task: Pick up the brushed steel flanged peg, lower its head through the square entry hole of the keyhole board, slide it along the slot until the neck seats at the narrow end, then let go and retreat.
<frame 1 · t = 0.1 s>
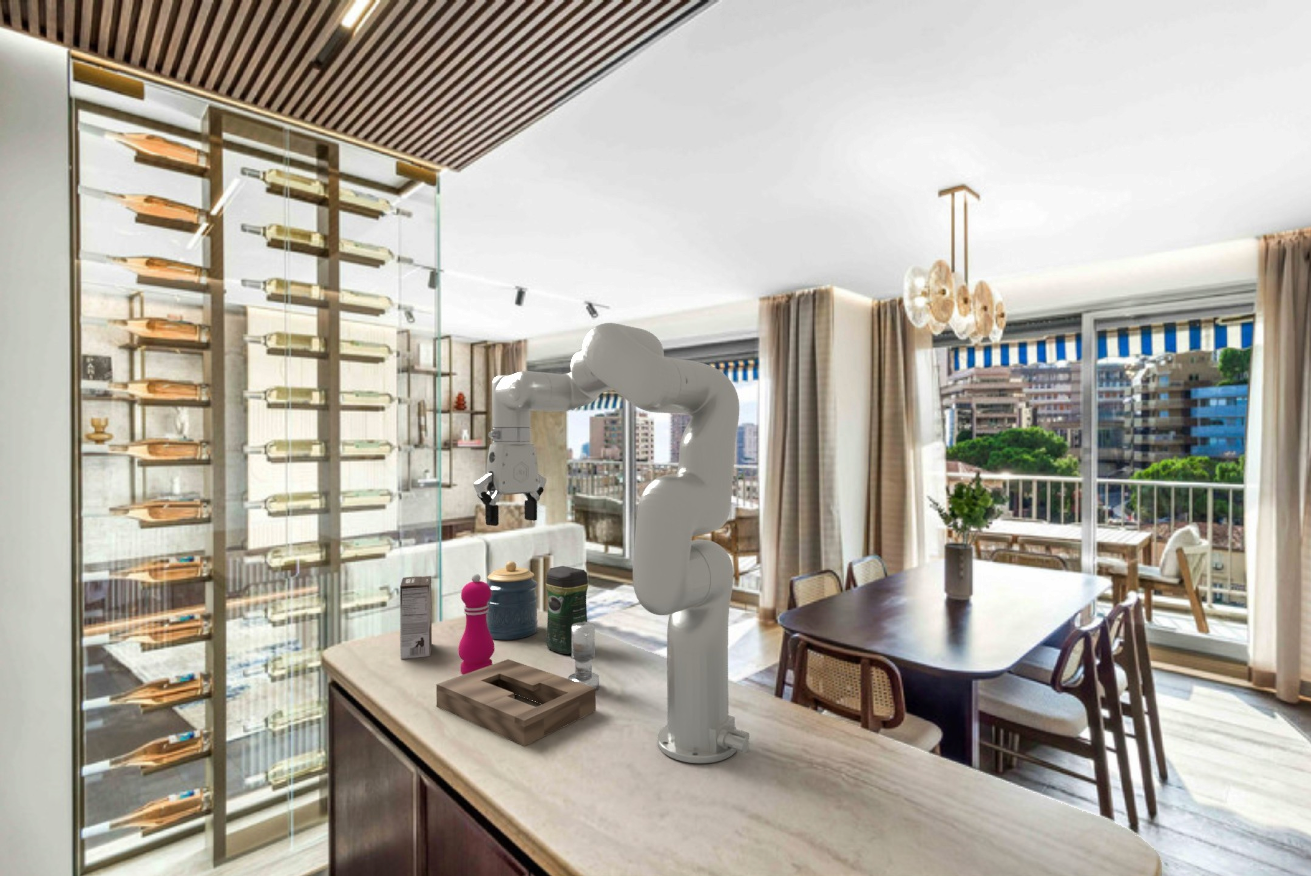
hand: (512, 522, 126), 31 cm above the kitchen island, tool pointing down, fingers open, 9 cm apart
keyhole board: (515, 708, 111), on the kitchen island
canister: (511, 633, 155), on the kitchen island
pepper mill: (476, 671, 129), on the kitchen island
coffee box: (416, 652, 142), on the kitchen island
coffee jar: (567, 649, 143), on the kitchen island
steel peg: (583, 687, 120), on the kitchen island
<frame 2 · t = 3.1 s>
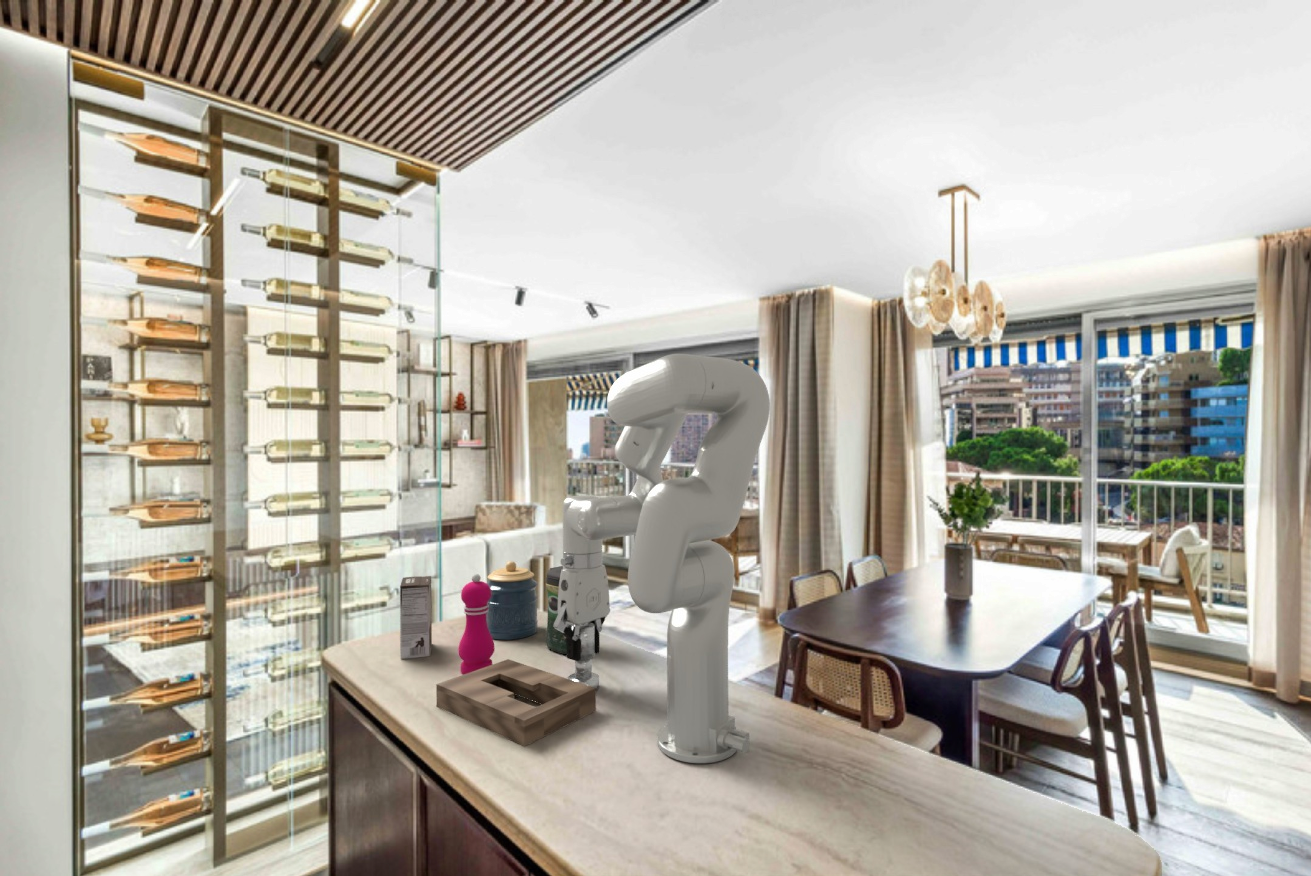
hand: (583, 654, 120), 6 cm above the kitchen island, tool pointing down, fingers closed on steel peg, 4 cm apart
steel peg: (583, 687, 120), on the kitchen island, touching gripper
everything else where it was.
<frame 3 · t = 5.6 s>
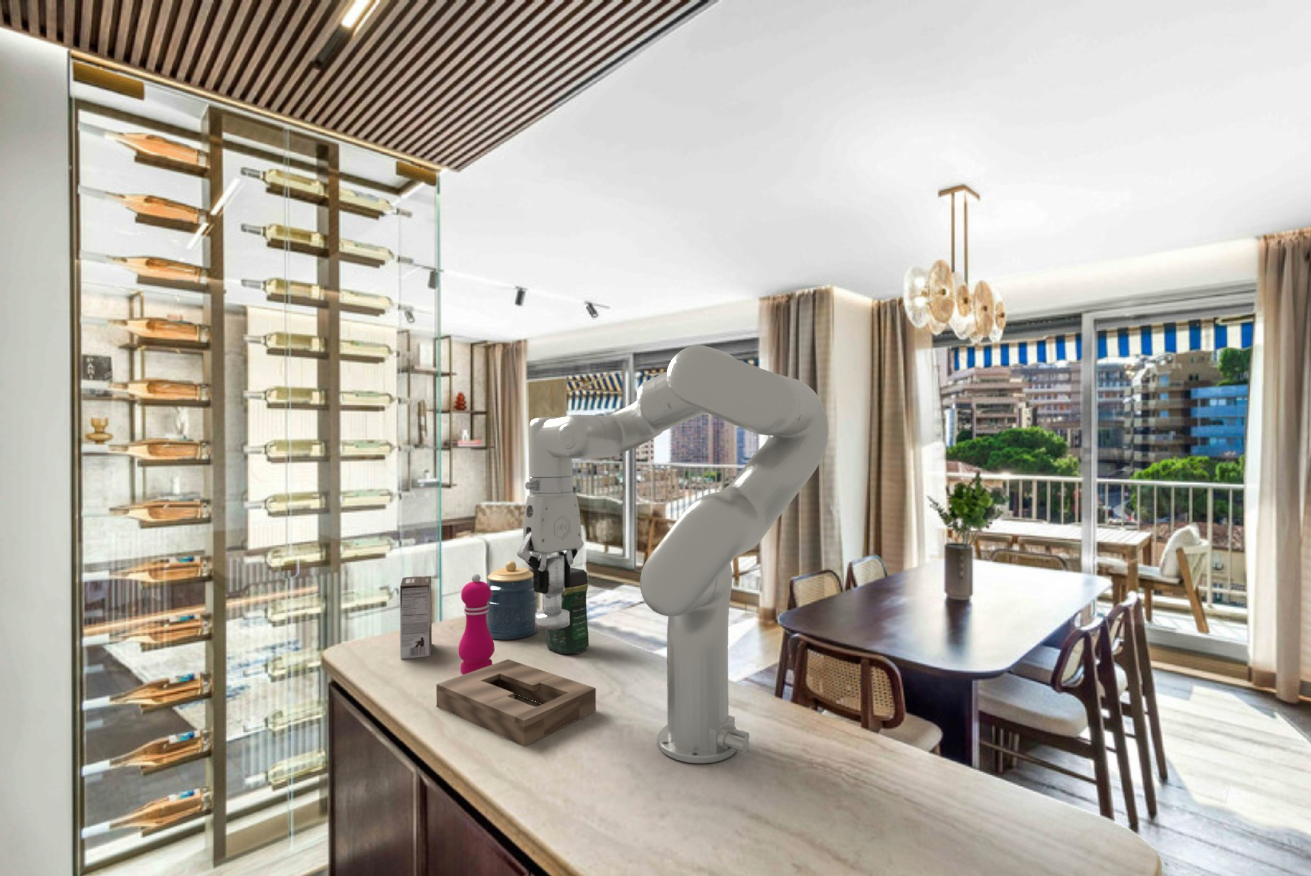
hand: (552, 588, 111), 21 cm above the kitchen island, tool pointing down, fingers closed on steel peg, 4 cm apart
steel peg: (552, 624, 111), point 15 cm above the kitchen island, touching gripper
everything else where it was.
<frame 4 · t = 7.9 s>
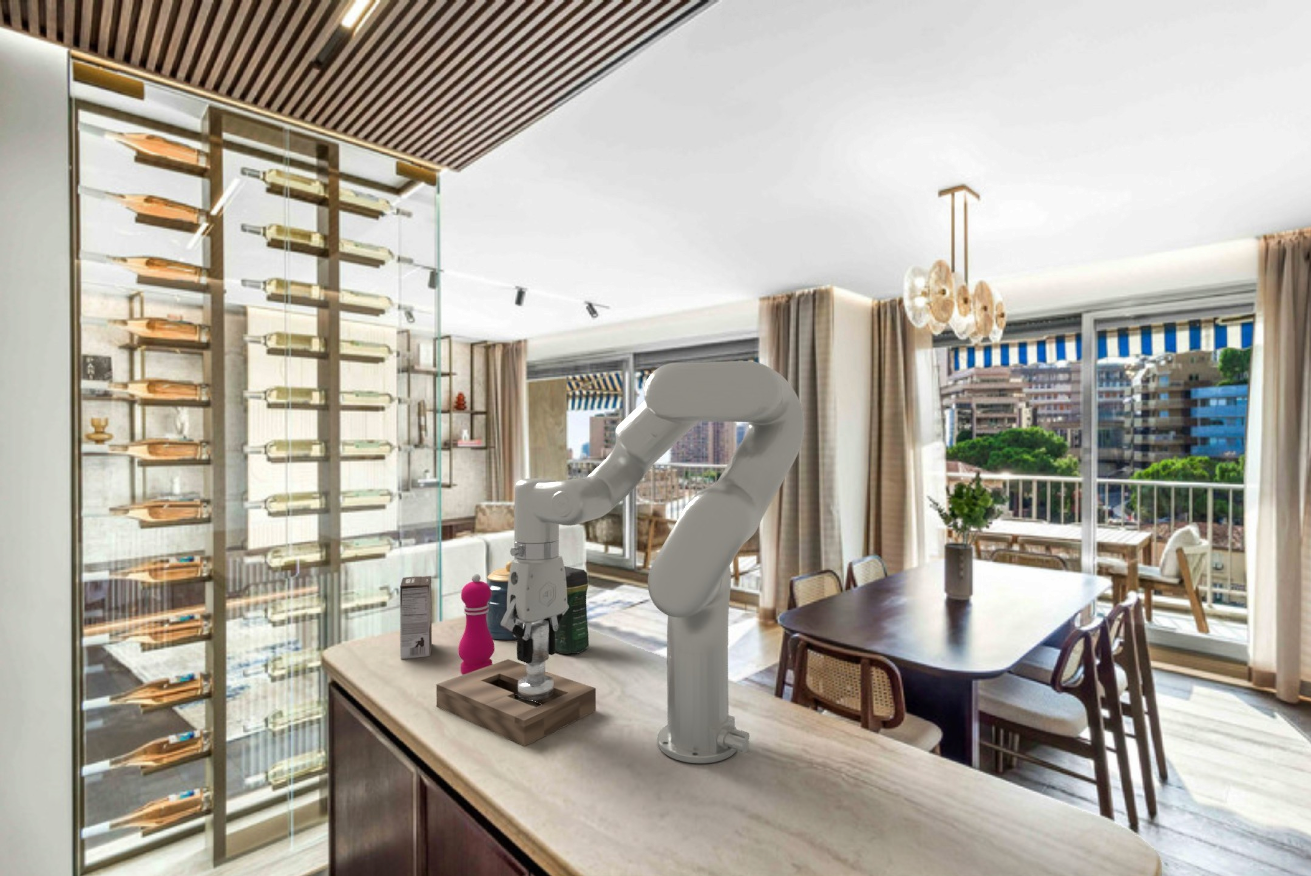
hand: (536, 655, 107), 11 cm above the kitchen island, tool pointing down, fingers closed on steel peg, 4 cm apart
steel peg: (535, 692, 107), point 4 cm above the kitchen island, touching gripper
everything else where it was.
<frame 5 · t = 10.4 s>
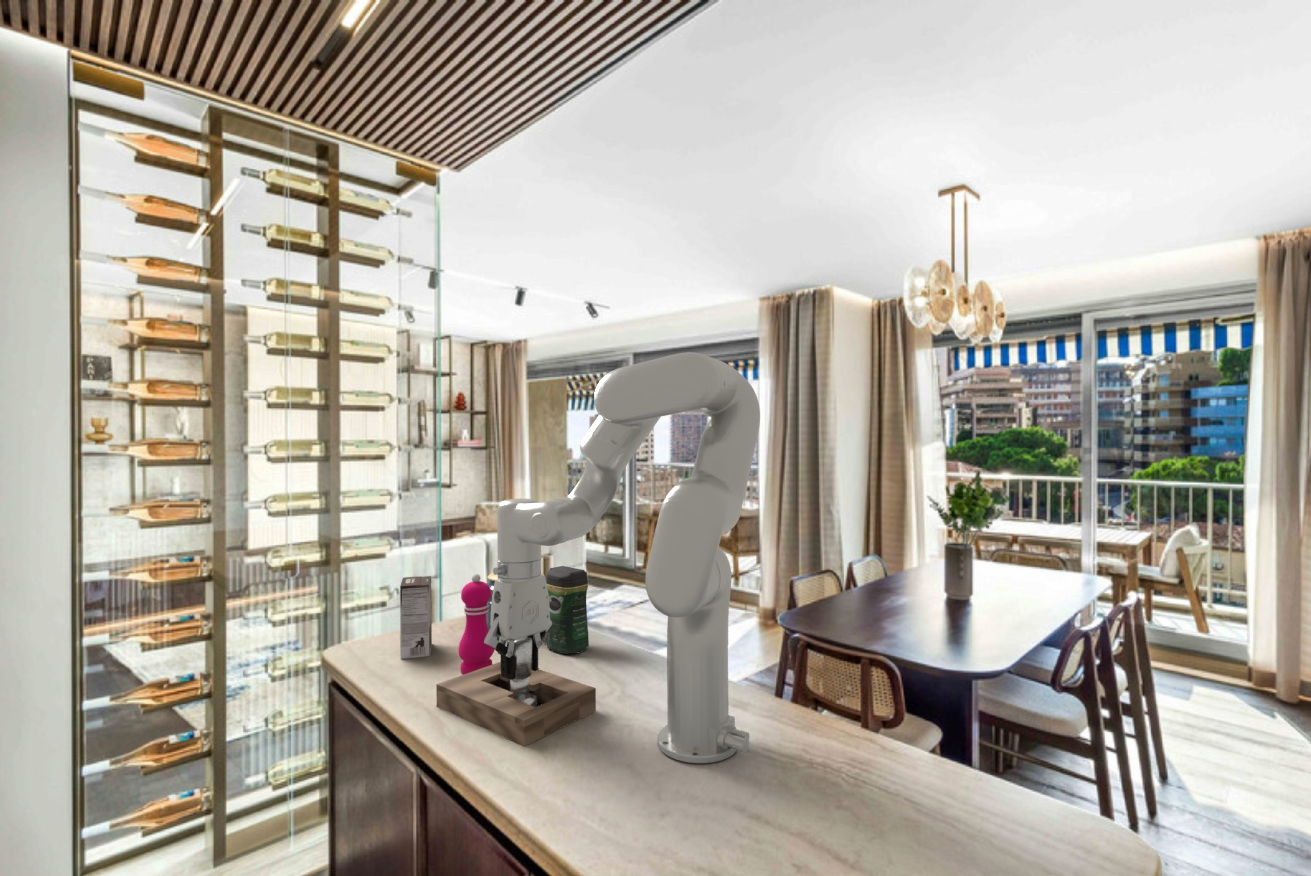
hand: (519, 672, 110), 7 cm above the kitchen island, tool pointing down, fingers closed on steel peg, 4 cm apart
steel peg: (519, 708, 110), resting in keyhole board, touching gripper
everything else where it was.
when the fingers open (7 cm above the kitchen island, at t = 12.8 s): steel peg stays where it is, resting in keyhole board.
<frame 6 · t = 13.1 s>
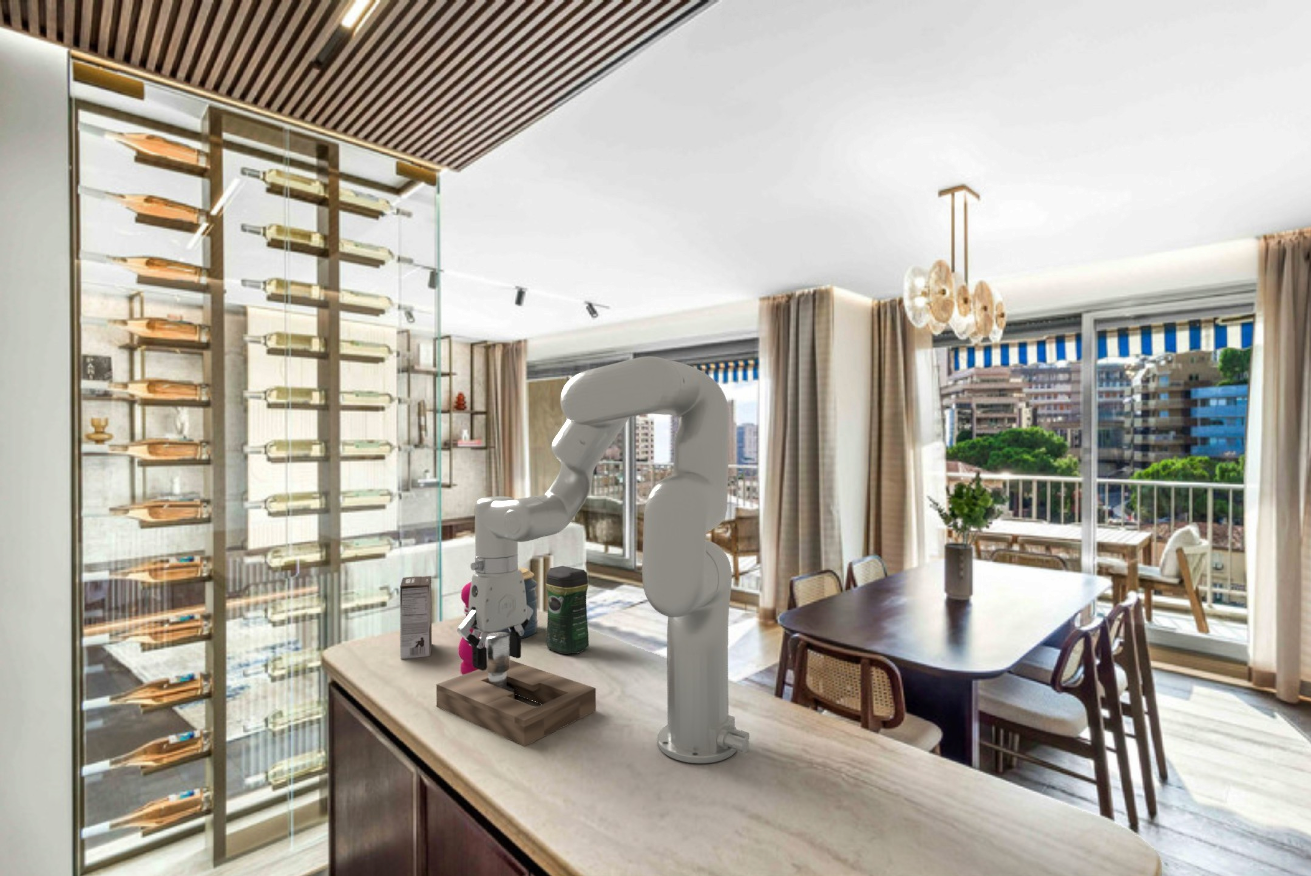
hand: (497, 661, 114), 7 cm above the kitchen island, tool pointing down, fingers open, 7 cm apart
steel peg: (497, 701, 114), resting in keyhole board
everything else where it was.
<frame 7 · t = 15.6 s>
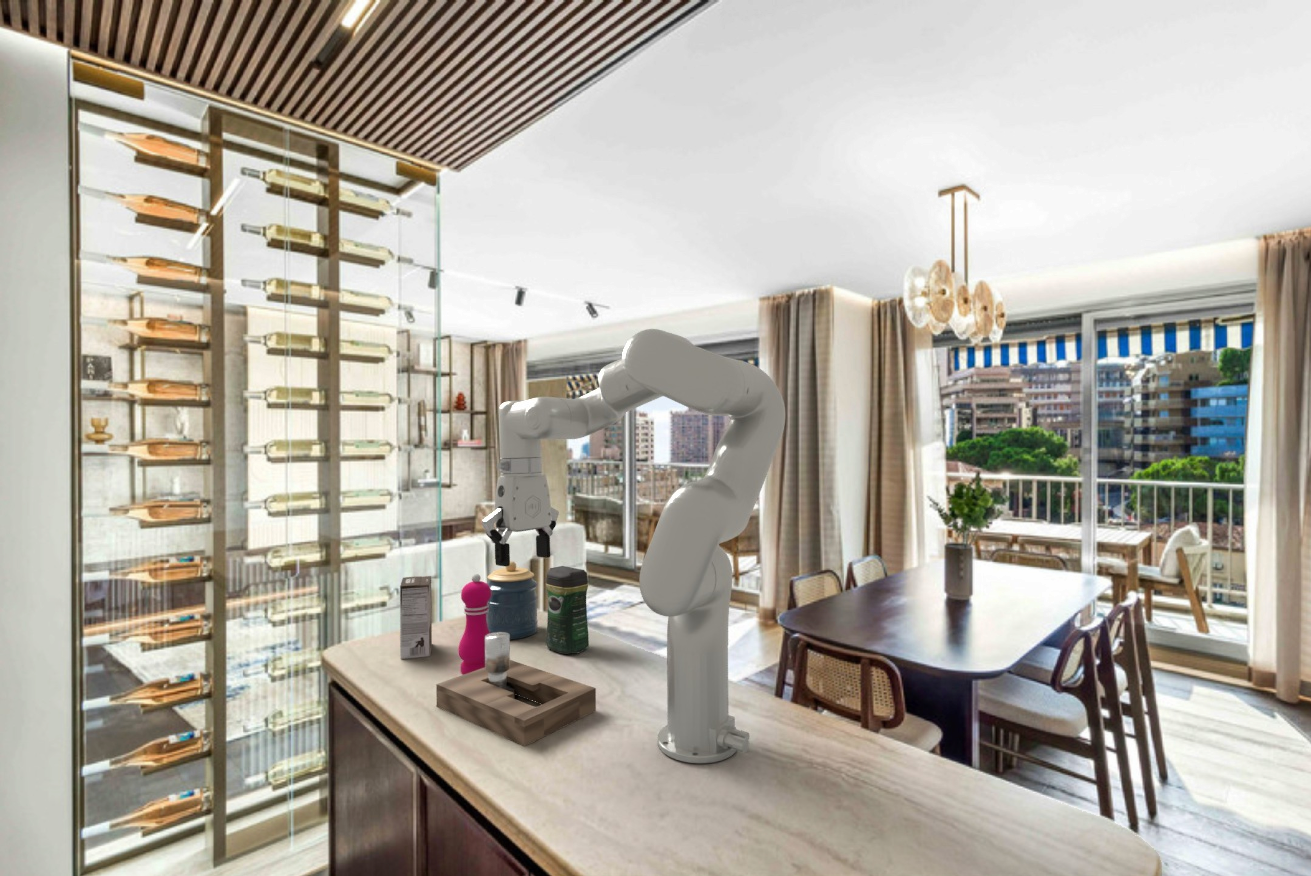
hand: (523, 561, 115), 25 cm above the kitchen island, tool pointing down, fingers open, 9 cm apart
nothing on the kitchen island moved.
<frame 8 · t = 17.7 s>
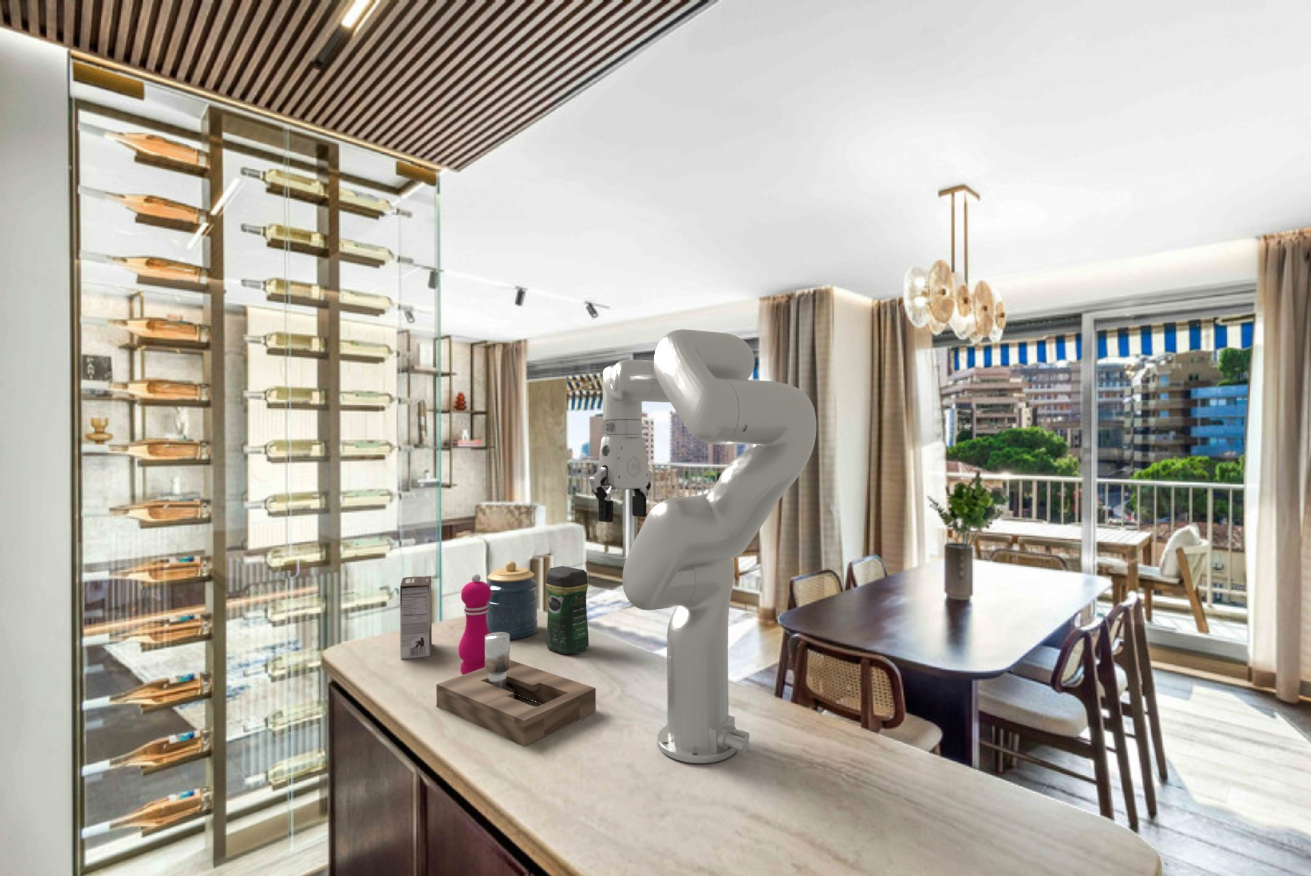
hand: (623, 518, 120), 32 cm above the kitchen island, tool pointing down, fingers open, 9 cm apart
nothing on the kitchen island moved.
at the end: steel peg 0.5 cm from the target spot on the keyhole board, point 0.0 cm above the keyhole board's base; steel peg tilted 0°; the gripper is holding nothing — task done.
